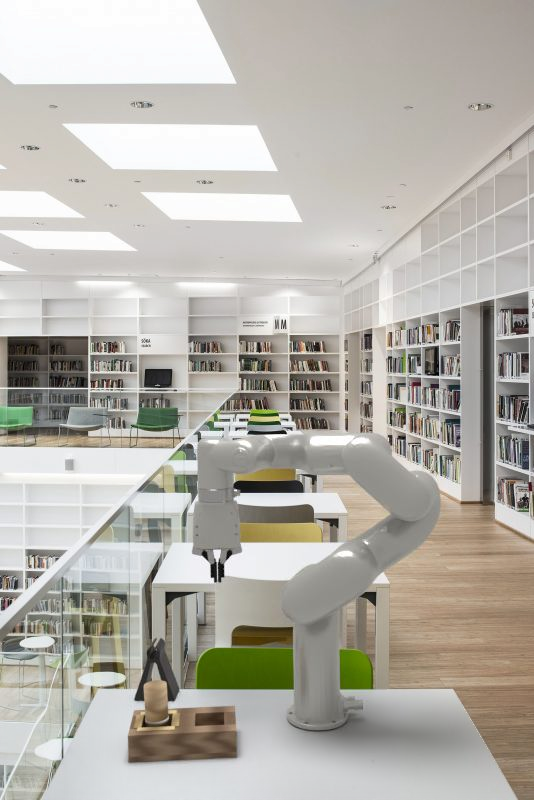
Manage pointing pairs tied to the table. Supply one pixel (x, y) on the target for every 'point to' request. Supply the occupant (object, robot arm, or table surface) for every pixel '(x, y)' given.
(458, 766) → the table surface
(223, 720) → the board
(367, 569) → the robot arm
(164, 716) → the peg
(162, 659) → the phone stand
